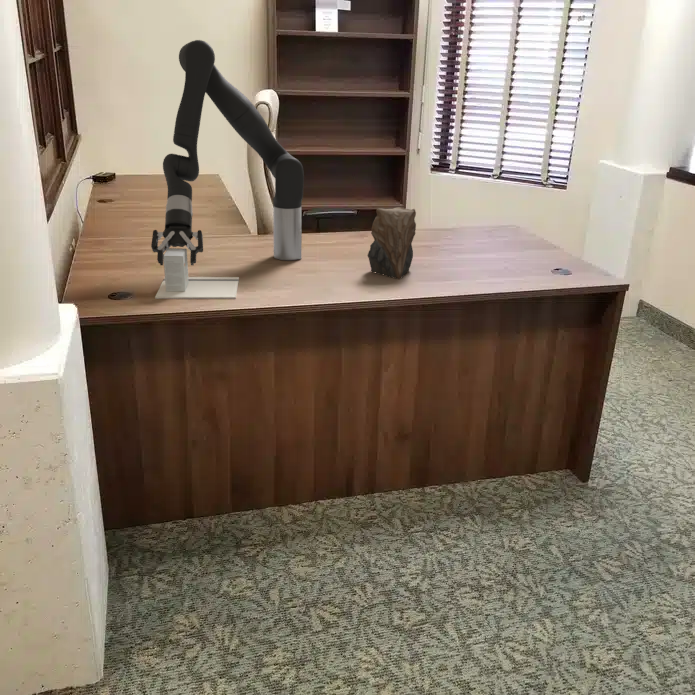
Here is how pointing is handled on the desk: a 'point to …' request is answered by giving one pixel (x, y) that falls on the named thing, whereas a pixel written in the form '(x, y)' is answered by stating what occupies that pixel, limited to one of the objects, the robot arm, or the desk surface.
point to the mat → (203, 289)
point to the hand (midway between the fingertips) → (176, 264)
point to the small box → (176, 269)
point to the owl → (392, 241)
